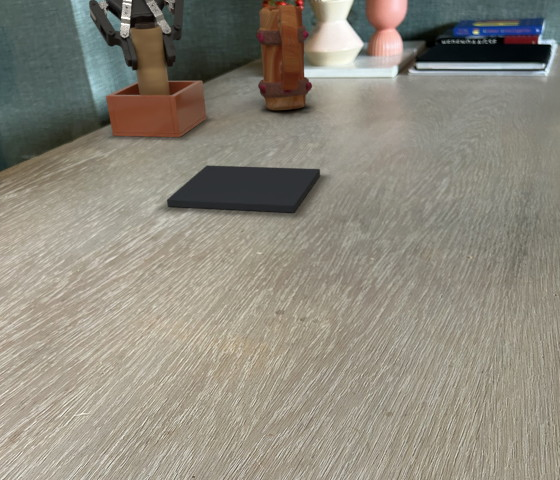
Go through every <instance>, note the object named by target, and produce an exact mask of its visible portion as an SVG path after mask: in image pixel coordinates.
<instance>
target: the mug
mask: <svg viewBox="0 0 560 480" xmlns="http://www.w3.org/2000/svg"><path fill="white" fill-rule="evenodd" d="M259 26H260V27H259V28H258V29H257V31H256V33H255V37H256V40H257V42H258V43H259V44H260V50H261V60H262V61H261V63H262V76H263V79H261V80H260V81H259V82H258V85H257V88H258V90H259V94H260V95H261V96H262V98H264V102H265V103H264V104H265V105H264V106H265V107H266V108H267V109H268V110H270V111H286V110H287V111H289V110H296V109H301V108H304V107H305V106H306V96H307V95H308V94H309V92H310V91H311V89H312V88H313V84H312V82H311V81H310V80H309V78H308V77H306V76H305V59H304V58H305V41H306V40H307V38H308V37H309V36H310V34H309V32H308V31H307V27H306V26H304V25H303V9H302V6H300V5H299V6H298V5H296V6H295V5H294V4H278V5H277V6H275V5H269V6H265V7H264V6H263V7H262V8H261V9H260V10H259Z"/></svg>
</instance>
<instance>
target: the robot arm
mask: <svg viewBox="0 0 560 480" xmlns="http://www.w3.org/2000/svg"><path fill="white" fill-rule="evenodd" d="M184 2H185V1H184V0H102V1H99V2H98V1H97V0H89V2H88V6H89V17H90V18H91V21H93V24H94V26H95V27H96V28H97V30H98V32H99V33H100V35H101V36H102V38H103V40H104V41H105V43H106V44H107V46H108V47H111V48H113V47H115V46H118V47H120V48H121V50H122V54H123V58H124V63H125V65H126V66H127V68H131V70H132V71H136V70H138V62H137V57H136V53H135V50H134V46H133V42H132V39H131V35H130V29H131V28H135V24H136V23H140V22H155V26H161V27H162V35H163V43H164V51H165V58H166V66H167V68H170V67H171V68H172V67H173V66H174V63H176V59H177V50H176V46H175V43H174V41H180V40H182V36H183V35H182V34H183V24H184V23H183V21H184V5H185V3H184ZM165 7H167V9H168V12H169V13H170V15H172V16H173V24H172V25H169V24H168V22H167V21H166V18H165V15H164V13H163V12H162V11H163V10H164V8H165ZM108 11H109V13H111V15H113V16H114V17H115V18H117V19H118V20H119V21H120V31H119V30H116V29H115V28H114V25H112V23H111V21H110V20H109V18H108Z"/></svg>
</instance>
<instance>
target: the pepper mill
mask: <svg viewBox="0 0 560 480" xmlns="http://www.w3.org/2000/svg"><path fill="white" fill-rule="evenodd" d="M130 35H131V36H130V38H131V39H132V42H133V46H134V50H135V53H136V57H137V62H138V70H135V73H136V79H137V81H138V87H139V94H140V95H170V89H169V81H170V80H169V75H168V67H167V63H166V58H165V51H164V43H163V35H162V27H161V26H155V22H140V23H136V24H135V28H131V29H130ZM137 81H136V82H137Z"/></svg>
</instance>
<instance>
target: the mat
mask: <svg viewBox="0 0 560 480" xmlns="http://www.w3.org/2000/svg"><path fill="white" fill-rule="evenodd" d="M320 176H321V169H320V168H302V167H301V168H299V167H267V166H237V165H236V166H234V165H205V166H204V167H203V168H202V169H201V170H200V171H198V172H197V173H196V174H195V175H194V176H193V177H191V178H190V179H189V180H188V181H187V182H185V184H183V185H182V186H181V187H180V188H179V189H177V190H176V191H175V192H174V193H173V194H171V195H170V196H169V197H167V199H166V205H167V207H169V208H192V209H211V210H229V211H230V210H232V211H252V212H275V213H291V214H292V213H295V212H296V211H297V209H298V208H299V206H300V205H301V203H302V202H303V201H304V199H305V197H306V196H307V195H308V193H309V192H310V190H312V188H313V186H314V185H315V183H316V182H317V181H318V179H319V178H320Z"/></svg>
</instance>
